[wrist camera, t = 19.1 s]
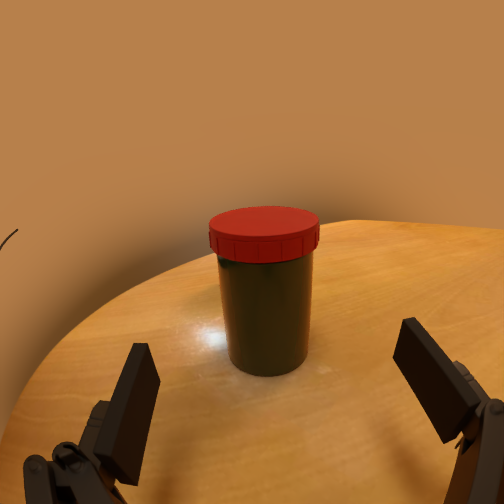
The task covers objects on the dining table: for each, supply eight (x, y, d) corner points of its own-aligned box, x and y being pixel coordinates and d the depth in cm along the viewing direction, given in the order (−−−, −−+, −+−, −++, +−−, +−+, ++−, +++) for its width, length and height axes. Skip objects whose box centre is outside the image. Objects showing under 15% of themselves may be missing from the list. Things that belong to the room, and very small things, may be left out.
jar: (211, 352, 25) (194, 229, 21) (263, 317, 30) (258, 208, 26) (274, 389, 21) (272, 250, 16) (322, 343, 26) (331, 221, 21)
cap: (189, 246, 22) (186, 223, 21) (259, 221, 27) (258, 202, 26) (273, 274, 17) (272, 244, 16) (336, 237, 22) (337, 214, 21)
